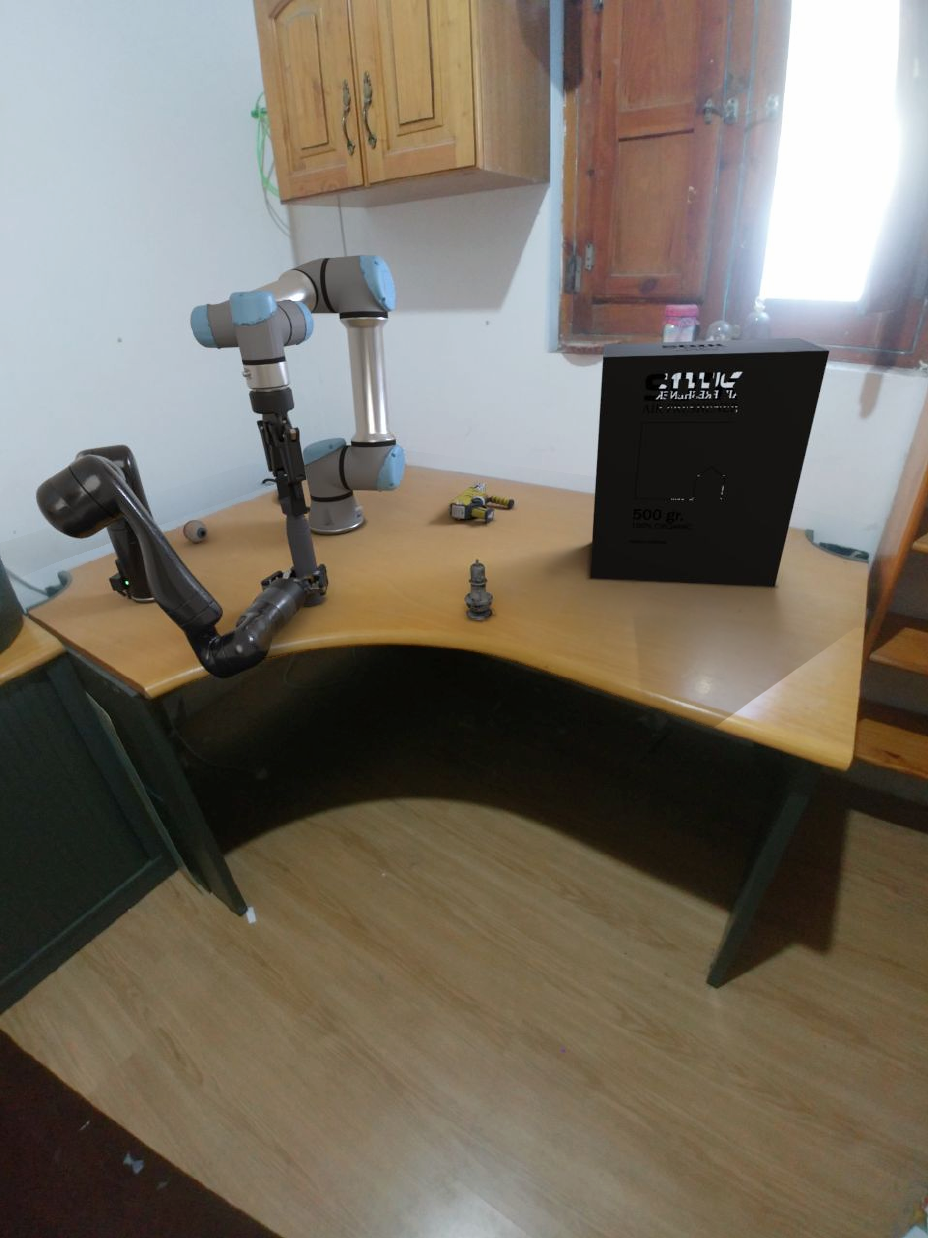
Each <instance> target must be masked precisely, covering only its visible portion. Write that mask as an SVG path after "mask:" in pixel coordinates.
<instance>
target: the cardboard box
mask: <svg viewBox="0 0 928 1238" xmlns="http://www.w3.org/2000/svg"><path fill="white" fill-rule="evenodd" d="M829 356H830V350H829V349H827V348H824V347H822V346H819V345H817V344H815V343H813V342H809V341H808V340H804V339H802V338H799V337H787V338H786V337H785V338H756V339H755V338H753V339H751V338H750V339H724V340H691V341H689V340H688V341H661V342H631V343H604V344H603V353H602V368H601V385H600V386H601V387H600V399H599V400H600V402H599V416H598V417H599V419H598V434H597V436H598V437H597V452H596V467H595V468H596V470H595V487H594V502H593V503H594V504H593V521H592V535H591V536H592V538H591V554H590V569H589V571H590V572H589V578H590V579H600V580H625V581H647V582H665V583H666V582H667V583H668V582H669V583H688V584H689V583H691V584H692V583H693V584H714V585H735V586H755V587H756V586H757V587H759V586H760V587H776V583H777V579H778V575H779V572H780V571H779V570H780V566H781V562H782V557H783V553H784V549H785V545H786V541H787V536H788V532H789V528H790V523H791V519H792V514H793V510H794V506H795V502H796V497H797V493H798V489H799V485H800V480H801V475H802V473H803V472H802V471H803V467H804V464H805V457H806V454H807V449H808V446H809V441H810V437H811V433H812V428H813V425H814V419H815V415H816V411H817V407H818V403H819V398H820V395H821V390H822V385H823V381H824V376H825V373H826V368H827V363H828V360H829ZM735 373H740V374H739V376H738V377H733V375H734V374H735ZM676 374H680V378H678V381H677V387H674V386H675V385H674V384H675V378H673V377H674V375H676ZM687 374H692V378H691V384H694V385H693V387H689V385H690V378H687ZM701 374H703V378H700V376H701ZM718 374H719V378H718ZM722 377H723V382H722ZM717 379H718V383H717ZM722 383H723V384H727V383H729V384H731V383H733V384H732V387H731V386H730V387H726V386H725V387H724V386H723V385H722ZM703 384H708V387H702V385H703ZM662 386H665V387H664V388H663V387H662ZM661 387H662V388H661Z"/></svg>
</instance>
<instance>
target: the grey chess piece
mask: <svg viewBox="0 0 928 1238" xmlns="http://www.w3.org/2000/svg"><path fill="white" fill-rule="evenodd" d="M469 573H470V578H469V580H468V583H469V584H470V592H469V593H467V594H466V595H464V597H463V600H464V602H465V605H466V607H467V608H468V609H467V611H466V613H465V614H466V617H467V618H468V619H470V620H473V621H484V620H487V619H489V618H491V617H492V616H493V613H494V612H493V610H492V609H491V607H492V604H493V601H494V594H493V593H490V592H488V591H487V583H488V579H487V578H486V566H485V565H484V563H481V562H480V561H479V559H475V562H474V563H472V564H471V565H470V567H469Z"/></svg>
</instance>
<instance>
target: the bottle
mask: <svg viewBox="0 0 928 1238" xmlns="http://www.w3.org/2000/svg"><path fill="white" fill-rule="evenodd" d="M285 516H286V517H285V524H286V525H285V531H286V532H285V533H286V537H287V541H288V547H289V551H290V557H291V561H292V567H293V566H294V571H295V575H296V578H300V577H301V576H303V575H305V574H307V573H309V574H311V573H312V572H314V571H315V570H316V569H317V567H318V563H317V557H316V553H315V552H316V551H315V547H314V541H313V536H312V533H311V532H312V531H311V530H310V527H309V522H308V519H307V518H306V514H303V515H300V516H296V517H294V516H293V515H285ZM314 581H315V577H314ZM323 601H324V596H320V594H319V593H318V592H317V593H312V594H311V595H310V596H308V597H307V598H306V599H305V602H304V604H303V606H304V607H314V606H317V605H320V604H322V603H323Z"/></svg>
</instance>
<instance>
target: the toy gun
mask: <svg viewBox="0 0 928 1238" xmlns="http://www.w3.org/2000/svg"><path fill="white" fill-rule="evenodd" d="M486 491H487V484H486V483H485V482H480V481H477V482H475V483H474V484H473V485H472V486H469V487H468V488H467V489H466V490H465V491H463V492H462V493H461V494H459V496H457V497H456V498H455V499H453V500H452V501H451V502H450V503H449V505H448V506H449V507H448V516H450V518H453V519H454V520H456V519H457V520H459V521H460V520H461V519H462V520H469V519H473V518H478V519H482V520H484V523H489V522H490V521H492V520H494V516H495V515H494V514H495V507H492V506H491V507H489V508H488V506H487V505H488V504H490V503H491V504H495V505H498V506H503V507H506V508H509V509H512V508H514V506H515V500H514V499H513V498H507V497H503V496H499V495H495V494H492V495H491V496H490V497H489V495H488V493H487V492H486Z"/></svg>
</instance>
